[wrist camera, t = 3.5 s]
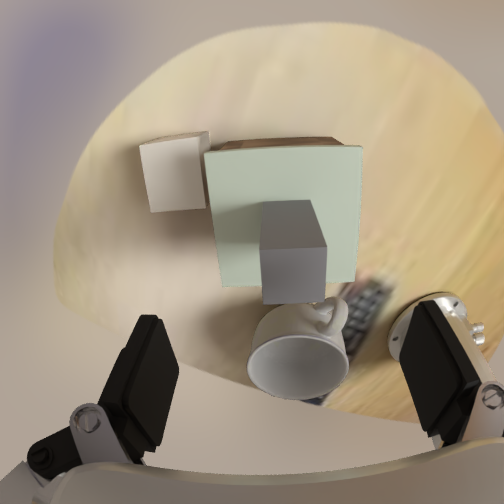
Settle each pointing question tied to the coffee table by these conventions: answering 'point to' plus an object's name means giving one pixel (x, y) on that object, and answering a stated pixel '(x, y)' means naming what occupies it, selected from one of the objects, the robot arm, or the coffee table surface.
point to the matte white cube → (176, 172)
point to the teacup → (300, 350)
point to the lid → (286, 218)
